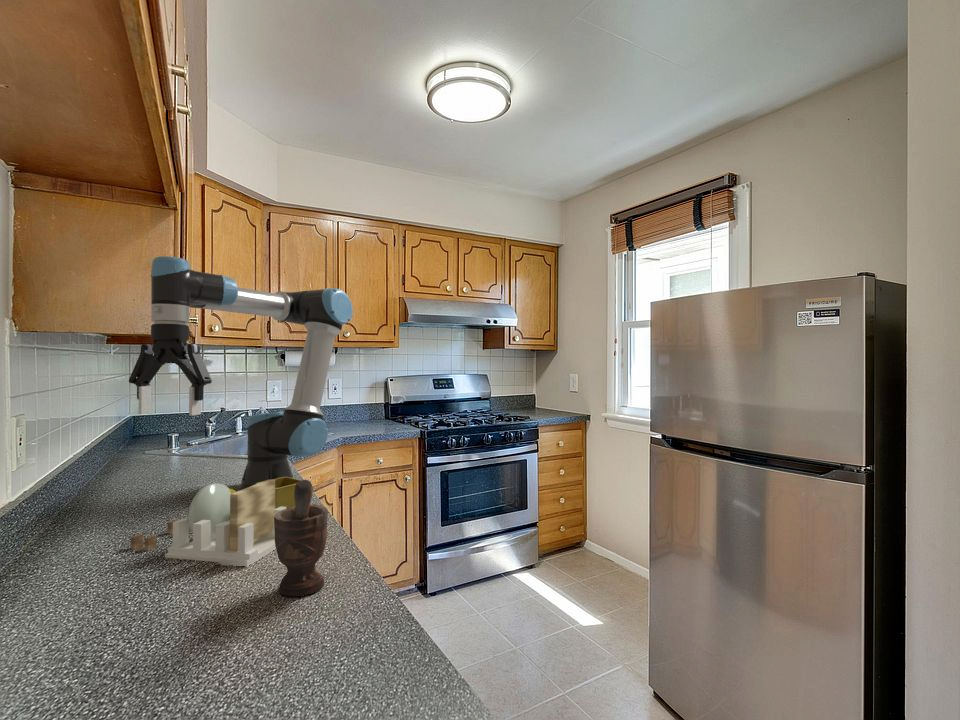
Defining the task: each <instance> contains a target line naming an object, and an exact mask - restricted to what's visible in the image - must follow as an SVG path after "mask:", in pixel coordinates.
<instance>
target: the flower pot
mask: <svg viewBox="0 0 960 720" xmlns="http://www.w3.org/2000/svg"><path fill="white" fill-rule="evenodd" d="M272 480H275V509H276V508H278V507H280V506H281V507H286V508H289V507H294V506H296V505H295V499H294V491H295V486H296V484H297V483H298V482H299V481H301V480H302V479H299V478H295V477H293V478H290V477H281V478H277V479H272ZM258 483H261V482H258ZM258 483H256V484H258Z"/></svg>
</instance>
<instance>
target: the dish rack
mask: <svg viewBox="0 0 960 720" xmlns="http://www.w3.org/2000/svg"><path fill="white" fill-rule="evenodd" d="M284 509H286V507H281V506H280V507H278V508H276V509H274V516H275V515H276V513H278V512H279V511H281V510H284ZM177 520H178V519H177ZM189 537H190V533H189V524H188V518H180V519H179V520H178V521H175V522H173V535H172V545H171V546H169V547H168V549H167V550H168V551H167V552H166V553H164V558H167V559H179V560H191V561H204V562H215V563H216V564H221V565H220V566H225V565H233V566H232V567H236V566H245V567H244V568H249V567H250V566H251V565H250V564H252V565H253V564H255V563H256V562H258V561H260V560H261V559H263V558H264V557H266V556H268V555H269V554H271V553H272V552H274V551H275V550H276V546H275V529H274V525H273V532H271V533H269V534H267V535H266V536H264V537H262V538H260V539H258V540H257V541H255V542H253V541H254V523H246V524H244V525H242V526H240V527H239V539H238V551H237V552H236V551H230V521H228V522H227V521H225V522H222V523H220V524H218V525H216V536H215V537H213V538H211V520H201V521H199V522H197V523H194V524H193V534H192V540H191V541H190V538H189ZM273 550H274V551H273ZM270 552H271V553H270ZM262 557H263V558H262ZM259 559H260V560H259ZM254 562H255V563H254ZM249 565H250V566H249Z"/></svg>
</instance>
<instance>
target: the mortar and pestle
mask: <svg viewBox="0 0 960 720" xmlns="http://www.w3.org/2000/svg"><path fill="white" fill-rule="evenodd" d="M300 480H301V481H299V482H298V483H297V484H296V486H295V491H294V499H295V505H296V506H294V507H289V508H286V509H284V510H281V511H279V512H278V513H276V515H275V516H274V529H275V546H276V549H275V550H276V553H277V554H276V555H277V557H278V561H280V563H281V564H282V565H284V566H285V567H286V569H287V571H286V573H285V574H284V576H283V577H282V578H281V581H280V583H279V586H278V592H279V594H280V595H282V596H287V597H297V596H302V597H304V596H303V595H306V596H309V595H308V594H311V593H314V592H316V591H317V592H319V591H320V590H322V587H324V585H325V578H324V574H323V573H322V572H320V571H319V570H318V569H317V568H316V563H317V562H318V561H320V559H321V558H322V556H323V554H324V552H325V548H326V545H327V538H328V518H329V517H328V516H329V515H328V514H329V509H328V508H327V507H326V506H323V505H320V504H316V503H315V504H311V502H312V500H313V499H312V498H313V492H314V487H313V484H312V482H311V481H310V480H308V479H300ZM319 589H320V590H319ZM317 592H316V593H317ZM314 594H315V593H314ZM311 595H312V594H311Z"/></svg>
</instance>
